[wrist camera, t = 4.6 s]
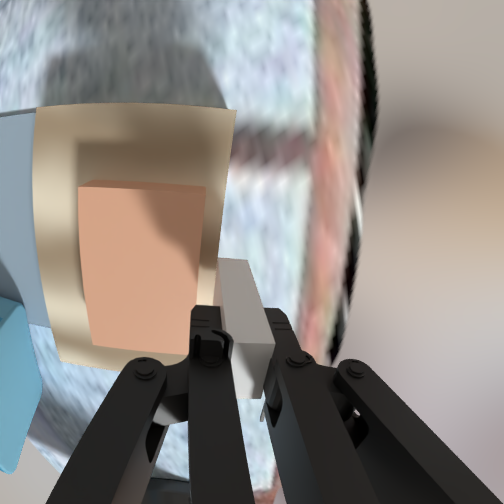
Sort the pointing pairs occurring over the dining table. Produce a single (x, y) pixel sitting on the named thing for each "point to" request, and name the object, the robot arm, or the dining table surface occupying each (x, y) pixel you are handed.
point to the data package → (16, 382)
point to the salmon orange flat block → (140, 262)
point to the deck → (120, 169)
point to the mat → (19, 219)
